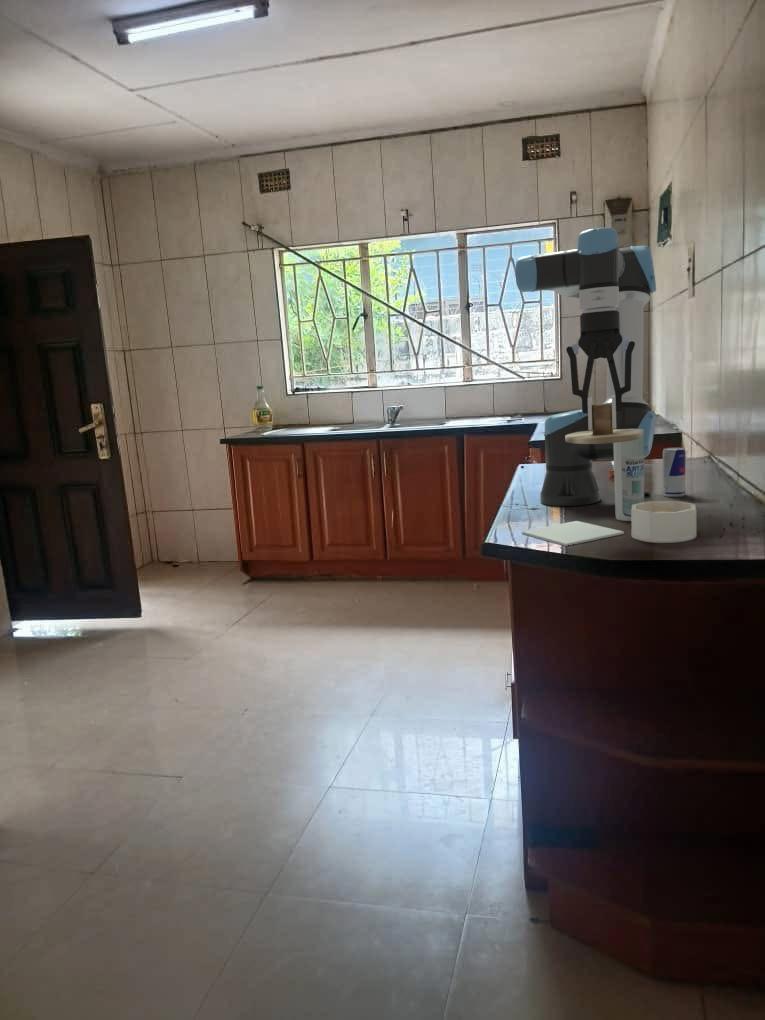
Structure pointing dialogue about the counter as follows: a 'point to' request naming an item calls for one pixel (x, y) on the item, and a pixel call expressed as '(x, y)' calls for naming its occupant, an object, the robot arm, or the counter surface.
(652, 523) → the bowl
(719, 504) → the counter surface
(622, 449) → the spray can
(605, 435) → the lid
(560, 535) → the mat
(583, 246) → the robot arm
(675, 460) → the energy drink
